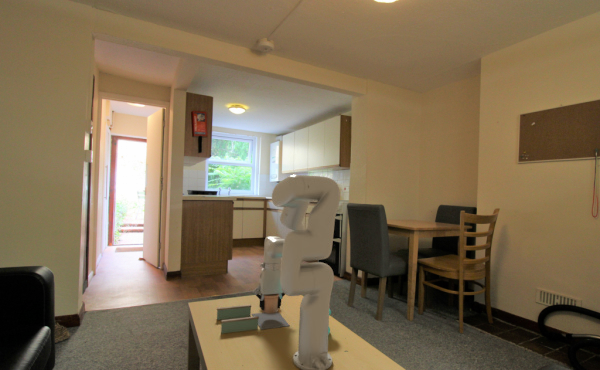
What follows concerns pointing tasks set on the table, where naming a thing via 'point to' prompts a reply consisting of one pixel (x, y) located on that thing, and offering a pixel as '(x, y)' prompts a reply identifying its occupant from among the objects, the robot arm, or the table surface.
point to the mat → (270, 320)
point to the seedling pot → (271, 303)
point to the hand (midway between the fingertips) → (270, 307)
